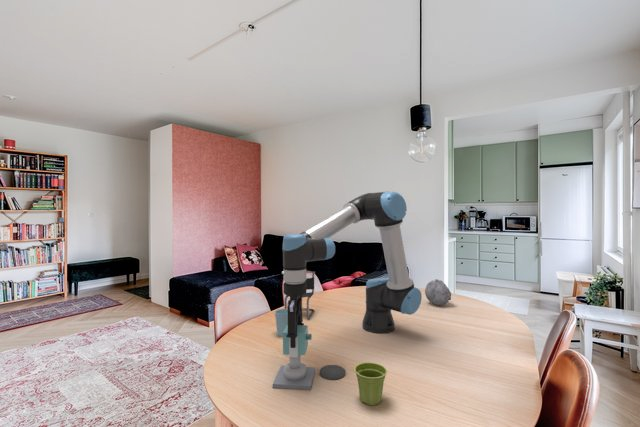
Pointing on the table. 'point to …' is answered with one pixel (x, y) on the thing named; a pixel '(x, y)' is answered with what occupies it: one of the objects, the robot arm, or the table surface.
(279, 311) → the cup
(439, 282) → the decorative orb
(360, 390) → the plant pot
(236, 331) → the table surface
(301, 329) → the teal cube with tab
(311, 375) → the square plate with peg
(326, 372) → the coaster
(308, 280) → the chair
